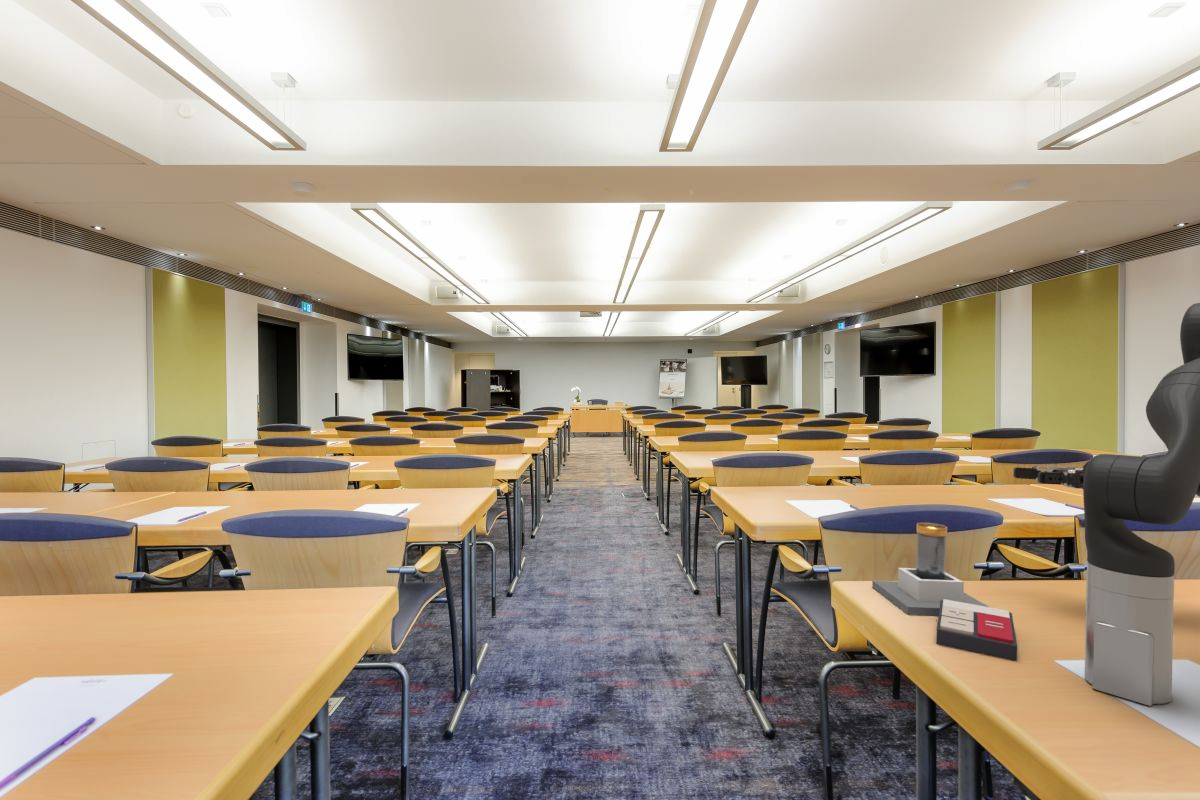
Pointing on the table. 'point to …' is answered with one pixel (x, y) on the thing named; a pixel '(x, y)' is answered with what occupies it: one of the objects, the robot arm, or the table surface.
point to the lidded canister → (931, 551)
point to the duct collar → (922, 592)
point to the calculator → (976, 629)
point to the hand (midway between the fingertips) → (1026, 475)
